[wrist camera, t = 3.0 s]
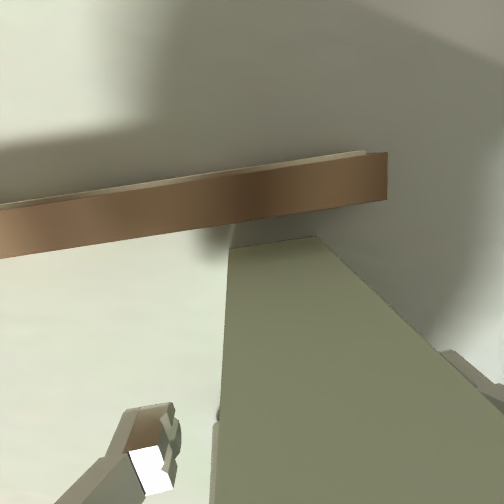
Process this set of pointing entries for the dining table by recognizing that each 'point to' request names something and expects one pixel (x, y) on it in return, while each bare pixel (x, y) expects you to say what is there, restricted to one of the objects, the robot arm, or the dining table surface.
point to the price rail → (191, 202)
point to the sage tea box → (341, 394)
